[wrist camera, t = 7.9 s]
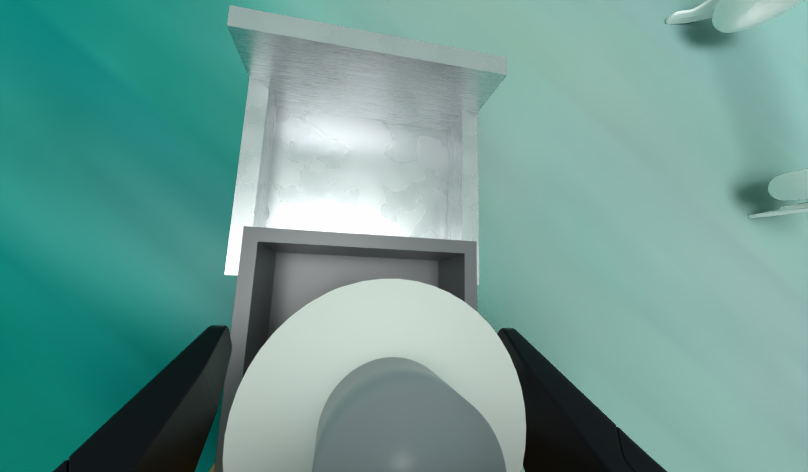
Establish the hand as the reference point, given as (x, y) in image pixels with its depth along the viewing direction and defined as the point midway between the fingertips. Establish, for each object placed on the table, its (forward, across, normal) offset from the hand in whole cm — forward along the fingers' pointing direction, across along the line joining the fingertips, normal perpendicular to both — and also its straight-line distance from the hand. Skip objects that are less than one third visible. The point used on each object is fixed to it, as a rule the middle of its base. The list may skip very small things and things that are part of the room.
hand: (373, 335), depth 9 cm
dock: (+11, 0, +2) cm, 12 cm away
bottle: (+5, 0, +7) cm, 8 cm away
